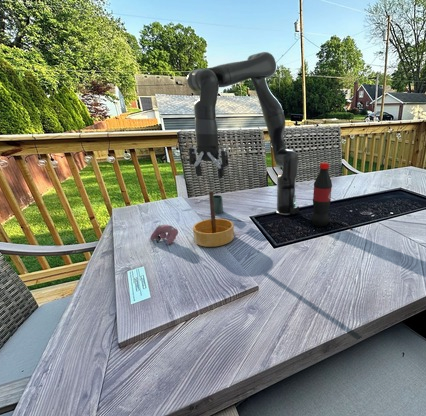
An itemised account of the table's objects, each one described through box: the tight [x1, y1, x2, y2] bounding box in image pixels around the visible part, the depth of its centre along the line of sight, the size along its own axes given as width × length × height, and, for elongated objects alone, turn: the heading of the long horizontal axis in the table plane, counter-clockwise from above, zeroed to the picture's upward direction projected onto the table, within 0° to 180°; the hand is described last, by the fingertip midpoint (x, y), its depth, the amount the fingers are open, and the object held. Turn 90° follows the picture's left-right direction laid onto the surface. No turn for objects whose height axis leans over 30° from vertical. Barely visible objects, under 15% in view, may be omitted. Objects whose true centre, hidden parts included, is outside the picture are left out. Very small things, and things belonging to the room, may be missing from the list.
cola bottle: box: [311, 162, 333, 228], centre depth 122 cm, size 8×8×30 cm
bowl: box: [192, 218, 235, 248], centre depth 106 cm, size 15×15×6 cm
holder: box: [214, 194, 224, 215], centre depth 133 cm, size 6×6×9 cm
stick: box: [208, 189, 216, 233], centre depth 104 cm, size 2×2×20 cm
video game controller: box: [150, 224, 179, 245], centre depth 104 cm, size 10×5×7 cm, turn 71°
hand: (210, 176), depth 98 cm, fingers open, 8 cm apart
